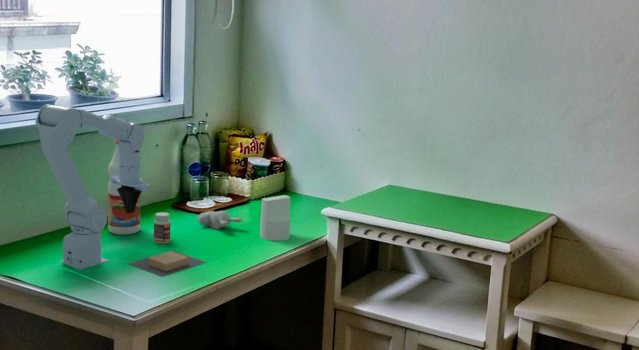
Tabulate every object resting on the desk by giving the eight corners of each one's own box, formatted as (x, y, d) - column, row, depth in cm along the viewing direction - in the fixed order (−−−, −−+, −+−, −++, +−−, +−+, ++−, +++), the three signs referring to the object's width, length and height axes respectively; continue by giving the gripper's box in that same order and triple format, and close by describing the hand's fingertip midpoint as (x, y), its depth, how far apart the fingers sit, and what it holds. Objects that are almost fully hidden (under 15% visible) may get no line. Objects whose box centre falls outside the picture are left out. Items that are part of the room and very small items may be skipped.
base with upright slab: (271, 242, 248) (272, 203, 245) (254, 234, 255) (255, 196, 252) (295, 237, 254) (297, 199, 251) (278, 230, 260) (279, 192, 258)
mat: (161, 278, 215) (161, 276, 215) (126, 265, 224) (126, 263, 223) (207, 263, 227) (207, 262, 227) (172, 251, 236) (172, 250, 236)
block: (148, 265, 223) (165, 272, 218) (148, 257, 222) (165, 264, 218) (171, 258, 229) (188, 264, 225) (171, 251, 228) (188, 257, 224)
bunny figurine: (213, 207, 269) (245, 211, 259) (214, 222, 269) (245, 227, 259) (190, 212, 262) (221, 217, 252) (191, 228, 263) (222, 233, 252)
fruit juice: (134, 224, 259) (133, 135, 253) (144, 233, 252) (144, 141, 245) (104, 228, 255) (102, 137, 248) (114, 236, 247) (112, 143, 241)
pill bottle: (166, 245, 242) (166, 217, 240) (151, 243, 242) (151, 215, 241) (173, 240, 246) (173, 212, 244) (157, 238, 247) (157, 211, 245)
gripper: (158, 167, 231) (158, 214, 234) (124, 158, 240) (125, 204, 243) (137, 171, 226) (138, 219, 229) (104, 162, 234) (105, 209, 238)
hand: (130, 212), depth 235 cm, fingers closed
